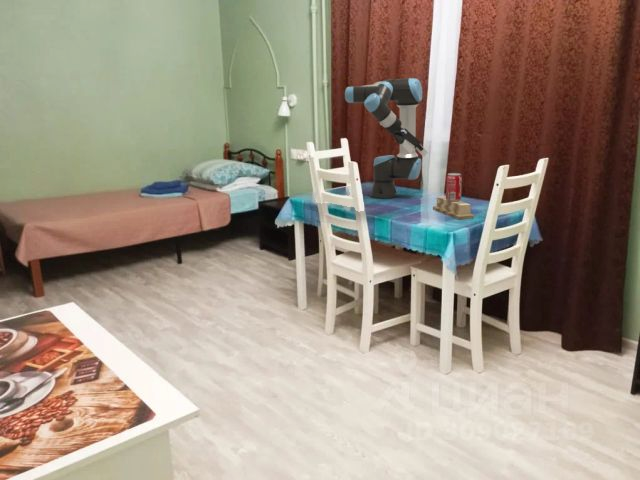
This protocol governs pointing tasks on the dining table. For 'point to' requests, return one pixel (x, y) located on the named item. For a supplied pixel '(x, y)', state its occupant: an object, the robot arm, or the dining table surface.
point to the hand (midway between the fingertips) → (418, 153)
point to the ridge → (453, 208)
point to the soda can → (453, 187)
